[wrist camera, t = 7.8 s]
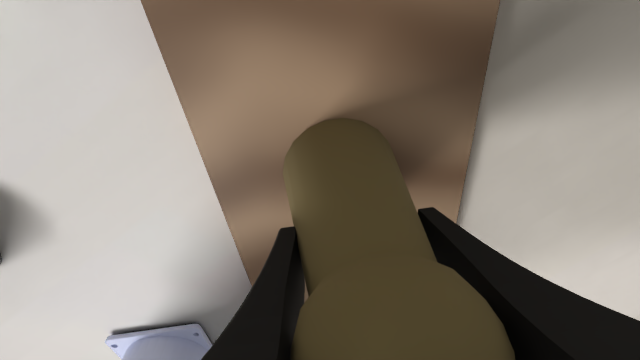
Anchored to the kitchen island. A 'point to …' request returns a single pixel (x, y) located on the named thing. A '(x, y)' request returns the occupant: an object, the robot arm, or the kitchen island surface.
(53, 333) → the kitchen island surface
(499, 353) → the olive peg
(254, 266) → the walnut board
